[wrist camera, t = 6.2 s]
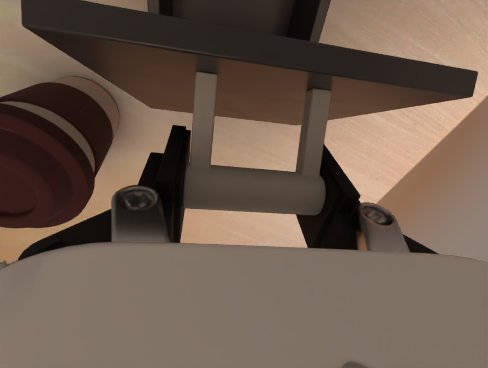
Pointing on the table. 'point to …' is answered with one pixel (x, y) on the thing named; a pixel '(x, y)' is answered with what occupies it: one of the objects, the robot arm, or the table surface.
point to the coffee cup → (52, 150)
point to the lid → (240, 90)
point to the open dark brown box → (252, 15)
